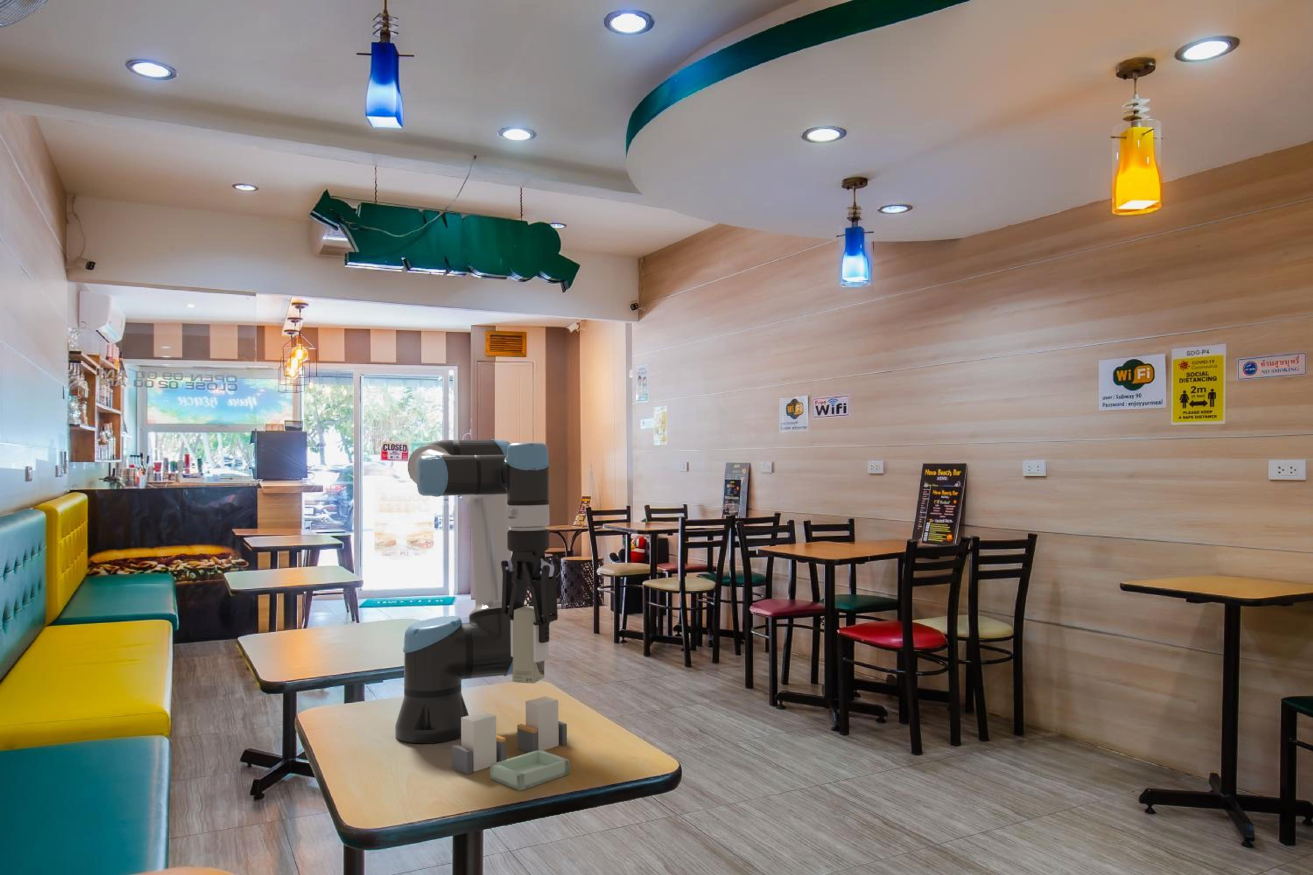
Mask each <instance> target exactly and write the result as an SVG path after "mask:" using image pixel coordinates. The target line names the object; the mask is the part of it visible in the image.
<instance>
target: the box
mask: <svg viewBox="0 0 1313 875" xmlns="http://www.w3.org/2000/svg"><path fill="white" fill-rule="evenodd" d="M542 617H543V615H542ZM533 622H536V618H535V612H534V607H533V605H531V606H530V605H524V607H521V608H518V609H516V610H514V632H513V674H512V677H511V678H512V680H511V681H512V682H514V683H521V684H536V683H538V682H540V681H541V680H543V679H544V678H545V666H546V664H545V662H546V660H545V661H540V662H533Z"/></svg>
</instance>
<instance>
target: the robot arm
mask: <svg viewBox="0 0 1313 875" xmlns="http://www.w3.org/2000/svg"><path fill="white" fill-rule="evenodd" d="M549 458H550V457H549V448H548V445H547V444H546V443H543V442H514V443H513V442H512V443H510V442H509V441H507V440H503V439H494V438H493V439H492V438H489V439H441V440H437V441H432V442H428V443H426V444H424V445H423V444H422V446H419V447H418V448H416V449H415V450H414V451H412V454H410V457H409V459H408V461H407V473H408V475H409V478H410V479H411V480H412V481H413V482H414V483H415V484H416V487H417V492H418V493H419V495H420V496H423V497H424V496H425V497H428V496H429V497H447V496H448V497H449V496H461V499H462V500H463V501H464V502H465V503H466V504H467V505H468V506H469V507H468V508H469V521H470V522H469V524H470V538H471V554H472V569H473V570H472V571H473V586H474V599H475V601H474V602H475V607H474V608H473V610H471V611H470V613H469V616H468V618H469V620H468V621H469V622H463V620H462V618H461V617H460V616H457V615H449V616H445V615H444V616H437V617H431V618H428V619H424V620H421V621H418V622H417V621H416V622H415V623H413V624H411V625H410V626H409V627H407V628H406V630H405V632H404V641H403V648H402V652H403V653H404V654H403V655H404V657H403V659H404V660H403V661H404V662H403V663H404V664H403V665H404V666H403V668H404V669H403V670H404V672H403V690H404V691H403V700H402V702H401V706H400V710H399V711H398V712H399V713H398V716H397V718H396V719H397V720H396V723H395V728H394V730H395V731H394V732H395V738H396V739H397V740H399V741H401V742H405V743H410V744H411V743H412V744H432V743H433V744H435V743H442V742H448V741H451V740H455V739H458V738H461V717H465V716H469V715H470V714H469V712H468V708H467V705H466V702H465V699H464V697H463V693H462V680H469V679H470V680H471V679H480V678H481V679H482V678H490V677H500V676H504V677H508V676H510V675H512V676H513V632H514V610H516V609H518V608H521V607H524V606H525V601H526V598H527V597H526V595H527V592H528V591H527V590H528V588H529V591H530V596H531V601H532V602H531V603H532V607H534V612H535V618H536V622H533V662H540V661H545V662H546V661H548V660H549V642H550V624H551V623H553V622H554V621H555V622H556V621H558V618H559V614H558V598H557V597H558V595H557V594H558V593H557V572H558V565H557V564H555V563H554V564H550V563H549V562H547V558H546V551H548V550H549V549H550V530H549V529H547V527H549V526H550V477H549V476H550V472H549V471H550V459H549ZM542 615H543V617H542Z"/></svg>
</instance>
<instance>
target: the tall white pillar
mask: <svg viewBox="0 0 1313 875" xmlns="http://www.w3.org/2000/svg"><path fill="white" fill-rule="evenodd" d="M558 721H559V699H556V698H554V697H550V696H541V697H537V698H533V699H530V700H526V701H525V725H526V726H530V727H533V728H536V729H537V750H542V751H547V750H549V749H552V748H555V747H559V746H560V744H559V728H558Z"/></svg>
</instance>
